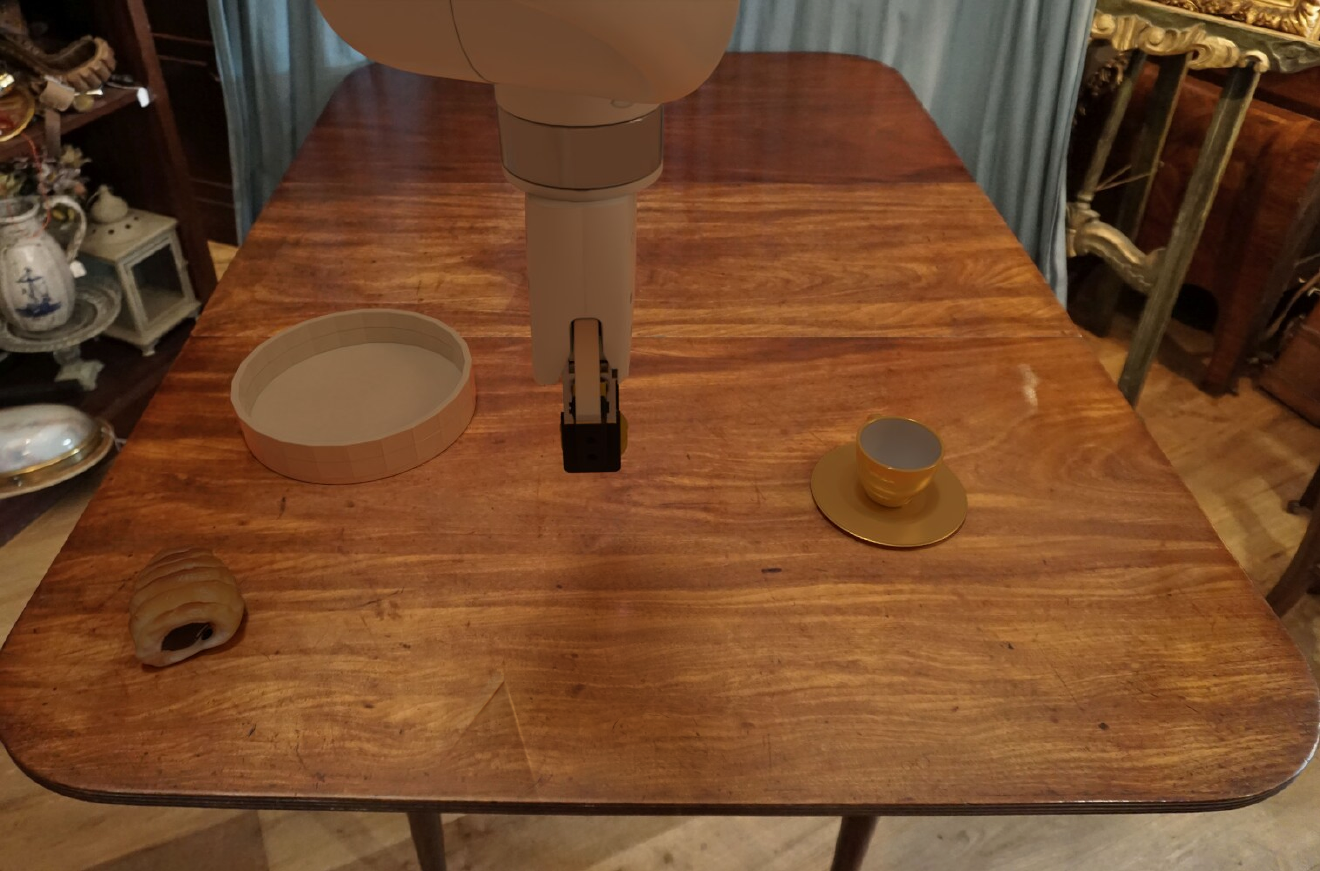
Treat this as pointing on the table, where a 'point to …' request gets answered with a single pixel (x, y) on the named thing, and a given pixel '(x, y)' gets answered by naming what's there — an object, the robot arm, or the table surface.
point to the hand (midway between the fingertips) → (592, 439)
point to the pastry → (183, 605)
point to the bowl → (355, 395)
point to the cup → (891, 484)
